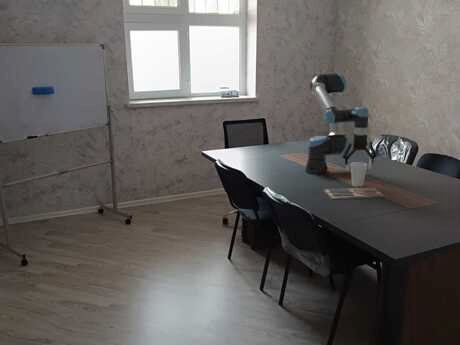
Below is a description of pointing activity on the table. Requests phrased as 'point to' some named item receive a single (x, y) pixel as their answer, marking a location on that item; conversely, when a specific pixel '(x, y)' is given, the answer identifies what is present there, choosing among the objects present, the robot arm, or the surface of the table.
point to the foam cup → (358, 173)
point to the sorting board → (353, 193)
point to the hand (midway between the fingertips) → (358, 169)
